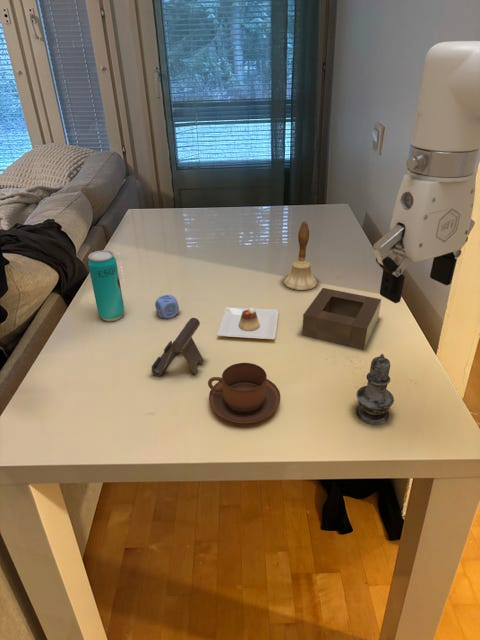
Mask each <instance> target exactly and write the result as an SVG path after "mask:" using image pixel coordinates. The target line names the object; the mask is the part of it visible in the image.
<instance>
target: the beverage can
mask: <svg viewBox="0 0 480 640" xmlns="http://www.w3.org/2000/svg"><path fill="white" fill-rule="evenodd" d="M114 255H115V254H114V252H113V251H111V250H108V249H107V250H106V249H105V250H103V249H101V250H96V251H93V252H90V253H89V255H88V257H87V258H88V263H87V265H88V270H89V275H90V280H91V284H92V289H93V294H94V299H95V304H96V310H97V314H98V315H99V316H100V318H101V320H103V321H104V322H105V321H106V322H115V321H118V320H120V319H121V318H122V317H123V316H124V312H125V306H124V304H125V303H124V297H123V292H122V287H121V282H120V276H119V275H120V274H119V270H118V263H117V258H116V257H115V256H114Z"/></svg>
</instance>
